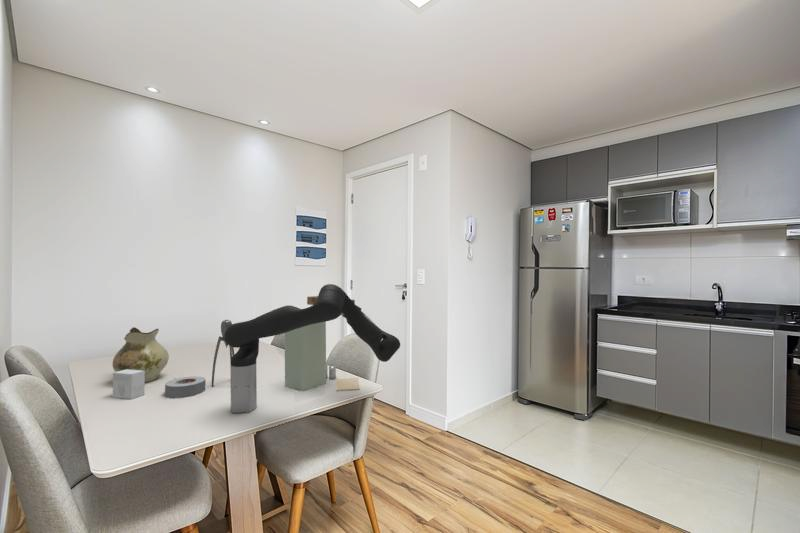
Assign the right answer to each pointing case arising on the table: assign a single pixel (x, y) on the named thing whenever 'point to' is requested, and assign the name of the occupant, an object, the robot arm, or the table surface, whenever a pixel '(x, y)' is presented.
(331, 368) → the cylinder
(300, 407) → the table surface
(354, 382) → the mat
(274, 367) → the table surface
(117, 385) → the skincare box
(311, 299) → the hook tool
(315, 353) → the tall sage green pillar
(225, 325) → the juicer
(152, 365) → the green ceramic vase
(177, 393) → the tape roll
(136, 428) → the table surface
